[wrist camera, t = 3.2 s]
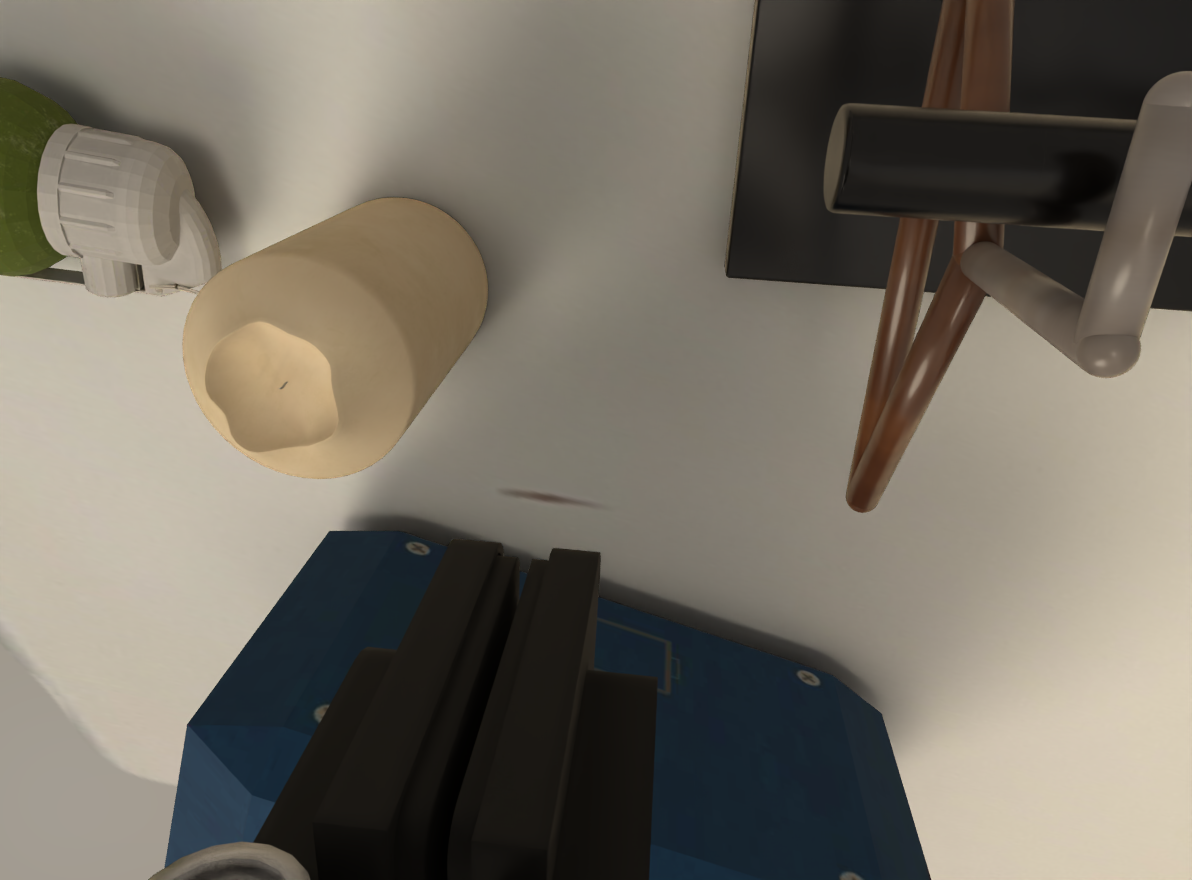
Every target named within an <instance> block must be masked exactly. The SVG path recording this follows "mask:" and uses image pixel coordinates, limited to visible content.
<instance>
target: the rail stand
mask: <svg viewBox="0 0 1192 880" xmlns="http://www.w3.org/2000/svg"><path fill="white" fill-rule="evenodd" d="M942 1H943V0H755V3H754V12H753V21H752V29H751V38H750V47H749V56H748V64H747V73H746V82H745V91H744V99H743V108H742V117H741V126H740V134H739V143H738V152H737V161H736V169H735V178H734V187H733V196H732V204H731V213H730V222H729V231H728V239H727V248H726V257H725V266H724V267H725V272H726V276H727V277H728V278H740V279H753V280H767V281H781V282H795V283H809V284H822V285H836V286H850V287H864V288H878V289H886V287H887V282H888V277H889V272H890V266H891V261H892V256H893V251H894V246H895V241H896V236H897V231H898V226H899V221H900V217H901V218H916V219H931V220H939V223H938V228H937V233H936V237H935V242H934V247H933V251H932V256H931V260H930V265H929V270H928V274H927V279H926V284H925V288H924V292H933V293H936V291H937V289H938V286H939V284H940V282H941V280H942V278H943V275H944V273H945V271H946V269H947V266H948V264H949V262H950V260H951V258H952V255H953V242H954V223H955V221H960V222H975V223H990V224H1004V245H1003V249H1004V250H1006V251H1008V252H1009V253H1011V254H1012V255H1014V256H1016V257H1017V258H1019V259H1021V260H1022V261H1024V262H1025V263H1027V264H1029V265H1030V266H1032V267H1034V268H1035V269H1037V270H1038V271H1040V272H1042V273H1043V274H1045V275H1046V276H1048V277H1050V278H1051V279H1053V280H1055V281H1056V282H1058V283H1059V284H1061V285H1063V286H1064V287H1066V288H1068V289H1069V290H1071V291H1072V292H1074V293H1076V294H1077V295H1079V296H1081V297H1082V298H1084V299H1085V296H1086V292H1087V289H1088V286H1089V282H1090V279H1091V275H1092V272H1093V269H1094V265H1095V262H1096V259H1097V255H1098V252H1099V248H1100V245H1101V242H1102V238H1103V235H1104V232H1105V228H1106V225H1107V221H1108V218H1109V215H1110V211H1111V208H1112V205H1113V201H1114V198H1115V194H1116V191H1117V188H1118V184H1119V181H1120V178H1121V174H1122V171H1123V167H1124V164H1125V161H1126V157H1127V154H1128V150H1129V147H1130V144H1131V140H1132V137H1133V134H1134V130H1135V127H1136V123H1137V120H1138V117H1139V113H1140V110H1141V107H1142V103H1143V101H1144V98H1145V96H1146V94H1147V93H1148V91H1149V90H1150V89H1151V88H1152V87H1153V85H1154V84H1156V83H1157V82H1158V81H1159V80H1161V79H1162V78H1164V77H1166V76H1168V75H1170V74H1173V73H1177V72H1181V71H1192V0H1015V4H1014V26H1013V48H1012V70H1011V91H1010V112H997V111H980V110H963V109H946V108H929V107H922V103H923V98H924V93H925V88H926V83H927V78H928V73H929V68H930V62H931V57H932V52H933V47H934V42H935V37H936V32H937V27H938V22H939V17H940V11H941V6H942ZM985 296H988V297H991V296H990V295H989V294H988V293H986V295H985ZM1150 308H1154V309H1168V310H1182V311H1192V182H1191V186H1190V189H1189V192H1188V195H1187V198H1186V201H1185V204H1184V207H1183V210H1182V213H1181V216H1180V219H1179V222H1178V225H1177V228H1176V231H1175V234H1174V237H1173V240H1172V243H1171V246H1170V249H1169V252H1168V255H1167V258H1166V261H1165V264H1164V267H1163V270H1162V273H1161V276H1160V279H1159V282H1158V285H1157V288H1156V291H1155V294H1154V298H1153V301H1152V304H1151V307H1150Z"/></svg>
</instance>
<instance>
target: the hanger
mask: <svg viewBox="0 0 1192 880" xmlns="http://www.w3.org/2000/svg"><path fill="white" fill-rule="evenodd" d="M1014 4H1015V0H943V1H942V6H941V11H940V17H939V22H938V27H937V32H936V37H935V42H934V47H933V52H932V57H931V62H930V68H929V73H928V78H927V83H926V88H925V93H924V98H923V103H922V107H929V108H946V109H963V110H980V111H997V112H1010V91H1011V70H1012V48H1013V26H1014ZM1191 182H1192V71H1181V72H1177V73H1173V74H1170V75H1168V76H1166V77H1164V78H1162V79H1161V80H1159V81H1158V82H1157V83H1156V84H1154V85H1153V87H1152V88H1151V89H1150V90H1149V91H1148V93H1147V94H1146V96H1145V98H1144V101H1143V103H1142V107H1141V110H1140V113H1139V117H1138V120H1137V123H1136V127H1135V130H1134V134H1133V137H1132V140H1131V144H1130V147H1129V150H1128V154H1127V157H1126V161H1125V164H1124V167H1123V171H1122V174H1121V178H1120V181H1119V184H1118V188H1117V191H1116V194H1115V198H1114V201H1113V205H1112V208H1111V211H1110V215H1109V218H1108V221H1107V225H1106V228H1105V232H1104V235H1103V238H1102V242H1101V245H1100V248H1099V252H1098V255H1097V259H1096V262H1095V265H1094V269H1093V272H1092V275H1091V279H1090V282H1089V286H1088V289H1087V292H1086V296H1085V299H1084V298H1082V297H1081V296H1079V295H1077V294H1076V293H1074V292H1072V291H1071V290H1069V289H1068V288H1066V287H1064V286H1063V285H1061V284H1059V283H1058V282H1056V281H1055V280H1053V279H1051V278H1050V277H1048V276H1046V275H1045V274H1043V273H1042V272H1040V271H1038V270H1037V269H1035V268H1034V267H1032V266H1030V265H1029V264H1027V263H1025V262H1024V261H1022V260H1021V259H1019V258H1017V257H1016V256H1014V255H1012V254H1011V253H1009V252H1008V251H1006V250H1004V249H1003V245H1004V224H990V223H975V222H960V221H955V223H954V242H953V255H952V258H951V260H950V262H949V264H948V266H947V269H946V271H945V273H944V275H943V278H942V280H941V282H940V284H939V286H938V289H937V291H936V293H935V295H934V298H933V300H932V302H931V304H930V306H929V309H928V311H927V313H926V315H925V318H924V320H923V322H922V324H921V327H920V329H919V331H918V333H917V335H916V338H915V340H914V335H915V330H916V326H917V321H918V316H919V312H920V307H921V302H922V298H923V293H924V288H925V284H926V279H927V274H928V270H929V265H930V260H931V256H932V251H933V247H934V242H935V237H936V233H937V228H938V223H939V220H931V219H916V218H901V217H900V221H899V226H898V231H897V236H896V241H895V246H894V251H893V256H892V261H891V266H890V272H889V277H888V282H887V287H886V292H885V297H884V302H883V307H882V312H881V317H880V323H879V328H878V333H877V338H876V343H875V348H874V353H873V358H872V363H871V368H870V374H869V379H868V384H867V389H866V394H865V399H864V404H863V409H862V414H861V420H860V425H859V430H858V435H857V440H856V445H855V450H854V455H853V460H852V465H851V471H850V476H849V481H848V486H847V491H846V501H847V503H848V505H849V506H850V508H852V509H853V510H854V511H857V512H861V513H865V512H869V511H871V510H873V509H874V508H875V507H876V506H877V504H878V502H879V500H880V498H881V496H882V494H883V492H884V490H885V488H886V487H887V485H888V483H889V481H890V479H891V477H892V475H893V473H894V471H895V469H896V467H897V465H898V463H899V461H900V460H901V458H902V456H903V454H904V452H905V450H906V448H907V446H908V444H909V442H910V440H911V438H912V436H913V434H914V432H915V431H916V429H917V427H918V425H919V423H920V421H921V419H922V417H923V415H924V413H925V411H926V409H927V407H928V405H929V403H930V402H931V400H932V398H933V396H934V394H935V392H936V390H937V388H938V386H939V384H940V382H941V380H942V378H943V376H944V374H945V373H946V371H947V369H948V367H949V365H950V363H951V361H952V359H953V357H954V355H955V353H956V351H957V349H958V347H959V346H960V344H961V342H962V340H963V338H964V336H965V334H966V332H967V330H968V328H969V326H970V324H971V322H972V320H973V318H974V317H975V315H976V313H977V311H978V309H979V307H980V305H981V303H982V301H983V299H984V297H985V295H986V293H988V294H989V295H990V296H991V297H993V298H994V299H995V300H996V301H998V302H999V303H1000V304H1001V305H1003V306H1004V307H1005V308H1006V309H1008V310H1009V311H1010V312H1011V313H1013V314H1014V315H1015V316H1016V317H1018V318H1019V319H1020V320H1021V321H1023V322H1024V323H1025V324H1026V325H1028V326H1029V327H1030V328H1031V329H1033V330H1034V331H1035V332H1037V333H1038V334H1039V335H1040V336H1042V337H1043V338H1044V339H1045V340H1047V341H1048V342H1049V343H1050V344H1052V345H1053V346H1054V347H1055V348H1057V349H1058V350H1059V351H1060V352H1062V353H1063V354H1064V355H1065V356H1067V357H1068V358H1069V359H1070V360H1072V361H1073V362H1074V363H1075V364H1077V365H1078V366H1079V367H1081V368H1082V369H1083V370H1084V371H1086V372H1087V373H1089V374H1091V375H1093V376H1096V377H1101V378H1112V377H1117V376H1119V375H1122V374H1124V373H1126V372H1128V371H1129V370H1130V369H1131V368H1132V367H1133V366H1134V365H1135V364H1136V362H1137V361H1138V359H1139V357H1140V352H1141V343H1140V337H1141V334H1142V331H1143V328H1144V325H1145V322H1146V319H1147V316H1148V313H1149V310H1150V307H1151V304H1152V301H1153V298H1154V294H1155V291H1156V288H1157V285H1158V282H1159V279H1160V276H1161V273H1162V270H1163V267H1164V264H1165V261H1166V258H1167V255H1168V252H1169V249H1170V246H1171V243H1172V240H1173V237H1174V234H1175V231H1176V228H1177V225H1178V222H1179V219H1180V216H1181V213H1182V210H1183V207H1184V204H1185V201H1186V198H1187V195H1188V192H1189V189H1190V186H1191ZM913 340H914V342H913Z"/></svg>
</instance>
